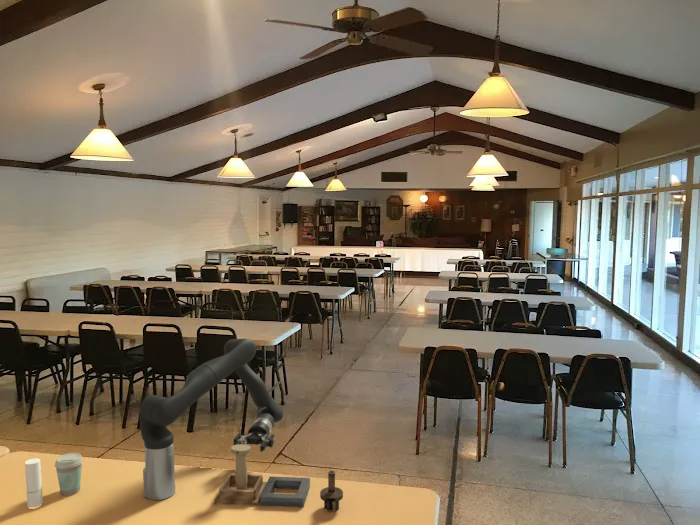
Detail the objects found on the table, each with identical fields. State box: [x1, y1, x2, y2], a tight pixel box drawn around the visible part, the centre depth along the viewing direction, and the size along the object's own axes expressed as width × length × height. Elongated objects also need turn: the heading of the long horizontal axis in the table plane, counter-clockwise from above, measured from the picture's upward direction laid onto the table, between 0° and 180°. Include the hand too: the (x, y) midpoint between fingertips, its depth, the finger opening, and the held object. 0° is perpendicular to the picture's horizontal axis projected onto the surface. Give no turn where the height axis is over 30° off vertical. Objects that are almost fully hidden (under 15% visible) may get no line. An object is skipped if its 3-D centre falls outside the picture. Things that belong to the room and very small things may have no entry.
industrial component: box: [319, 470, 344, 513], centre depth 186 cm, size 9×7×12 cm
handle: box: [230, 443, 251, 490], centre depth 195 cm, size 5×6×15 cm
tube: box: [24, 457, 44, 508], centre depth 187 cm, size 4×4×15 cm
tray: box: [214, 473, 267, 506], centre depth 195 cm, size 14×14×4 cm
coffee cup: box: [54, 452, 84, 496], centre depth 196 cm, size 8×9×12 cm
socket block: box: [259, 476, 311, 508], centre depth 194 cm, size 14×14×3 cm
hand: (249, 448), depth 205 cm, fingers open, 8 cm apart
